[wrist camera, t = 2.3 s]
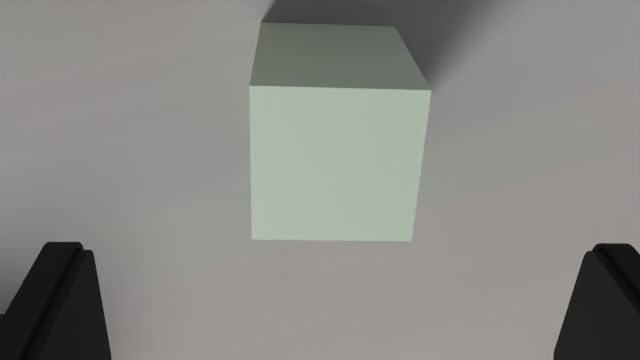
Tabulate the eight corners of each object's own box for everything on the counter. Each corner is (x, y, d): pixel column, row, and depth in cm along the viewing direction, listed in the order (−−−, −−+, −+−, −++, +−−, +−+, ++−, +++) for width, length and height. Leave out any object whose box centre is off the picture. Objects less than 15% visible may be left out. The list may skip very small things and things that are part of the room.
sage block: (394, 26, 23) (431, 90, 17) (382, 146, 25) (411, 241, 19) (261, 21, 23) (249, 85, 17) (261, 144, 25) (251, 239, 19)
